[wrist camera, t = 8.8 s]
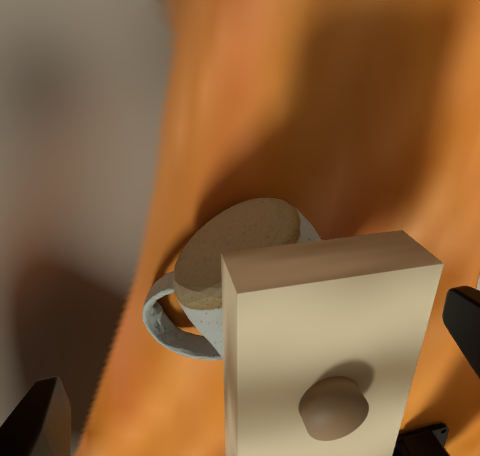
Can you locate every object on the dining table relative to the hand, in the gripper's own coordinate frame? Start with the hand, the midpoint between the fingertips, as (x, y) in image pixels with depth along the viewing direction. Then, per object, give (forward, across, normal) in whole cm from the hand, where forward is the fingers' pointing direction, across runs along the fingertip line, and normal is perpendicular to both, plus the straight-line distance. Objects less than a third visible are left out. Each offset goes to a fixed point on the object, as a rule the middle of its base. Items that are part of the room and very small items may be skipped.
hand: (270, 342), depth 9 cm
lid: (+5, -3, +6) cm, 9 cm away
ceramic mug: (+13, -2, +7) cm, 15 cm away
